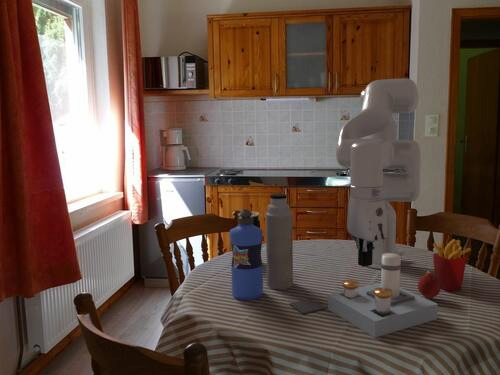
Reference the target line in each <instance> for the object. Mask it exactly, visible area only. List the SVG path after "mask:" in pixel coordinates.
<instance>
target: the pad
mask: <svg viewBox="0 0 500 375" xmlns="http://www.w3.org/2000/svg"><path fill="white" fill-rule="evenodd" d="M288 304H289V306H290V307H292V308H293V309H295V310H296V311H297V312H298V313H300V314H302V315H306V314H307V315H308V314H311V313H315V312H318V311H323V310H326V307H325V306H323V305H322V304H320V303H318V302H317V301H315V300H314V299H312V298H307V299H303V300H299V301H298V300H297V301H293V302H289V303H288Z"/></svg>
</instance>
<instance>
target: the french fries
mask: <svg viewBox="0 0 500 375" xmlns="http://www.w3.org/2000/svg"><path fill="white" fill-rule="evenodd" d="M461 242H462V241H461V240H459V239H457V240H456V239H454V238H453V239H452V240H450V241H449V242H448V243H447V244H446V246H445V247H444V244H443V243H439V245H438V244H437V243H436V242H434V243H432V246H433V247H434V249H435V250H436V252H437V253H433V254H432V256H433V258H432V260H433V267H434V268H433V269H434V270H433V271H434V272H433V273H434V276H435V277H436V278H437V279H438V280H439V283H440V288H441V289H440V290H443V291H445V292H447V293H450V292H455V291H456V292H457V291H461V290H462V286H463V281H464V276H465V275H464V274H465V269H466V264H467V259H468V258H467V257H466V256H464V254H467V253H468V252H471V251H472V249H471V248H470V247H466V248H465V249H463V247H462V246H461ZM462 249H463V250H462Z"/></svg>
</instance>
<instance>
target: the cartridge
mask: <svg viewBox="0 0 500 375" xmlns="http://www.w3.org/2000/svg"><path fill="white" fill-rule="evenodd" d="M401 258H402V256H400V255H398V254H393V253H386V254H382V262H381V269H380V270H381V273H380V274H381V276H380V278H381V279H380V280H381V282H380V283H381V288H388V289H391V290H392V296H391V300H393V299H397V298H400V288H401V267H402V266H401V265H402V264H401V260H402V259H401Z"/></svg>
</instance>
